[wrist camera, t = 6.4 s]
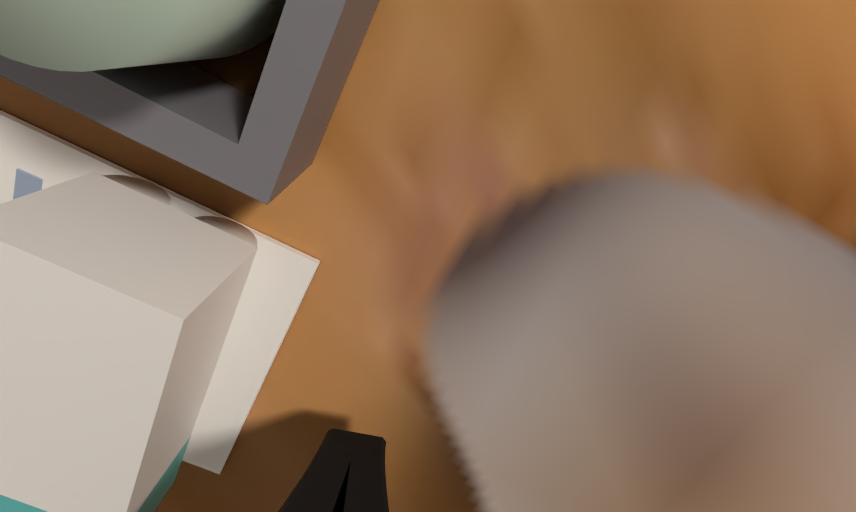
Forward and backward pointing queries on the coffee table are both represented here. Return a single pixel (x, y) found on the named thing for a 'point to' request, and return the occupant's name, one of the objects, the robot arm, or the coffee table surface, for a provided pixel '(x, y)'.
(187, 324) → the eraser
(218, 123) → the button housing
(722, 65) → the coffee table surface
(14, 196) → the paper
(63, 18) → the button
